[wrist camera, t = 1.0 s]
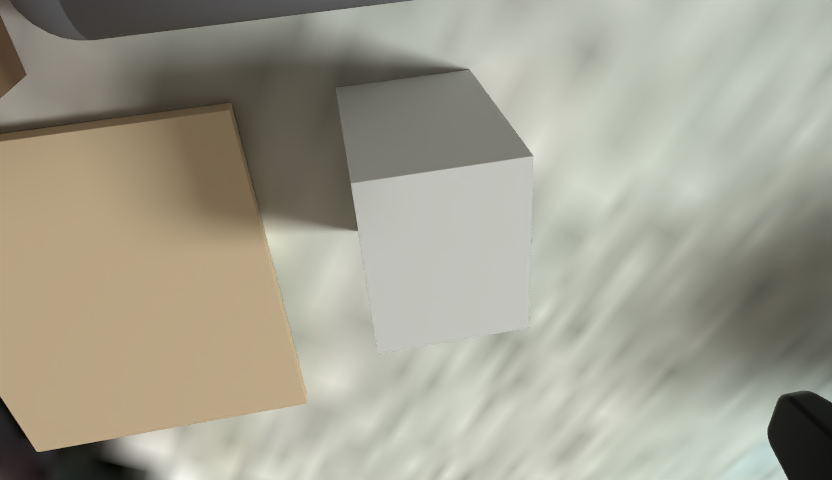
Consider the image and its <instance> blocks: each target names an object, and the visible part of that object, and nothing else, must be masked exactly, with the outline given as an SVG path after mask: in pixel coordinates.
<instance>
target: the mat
mask: <svg viewBox="0 0 832 480" xmlns="http://www.w3.org/2000/svg"><path fill="white" fill-rule="evenodd" d="M0 397H1V398H2V400H3V401H4V403H5V404H6V406H7V407H8V409H9V410H10V412H11V413H12V415H13V416H14V418H15V419H16V421H17V422H18V424H19V425H20V427H21V428H22V430H23V431H24V433H25V434H26V436H27V437H28V439H29V440H30V442H31V443H32V445H33V446H34V448H35V449H36V451H37V452H41V451H46V450H52V449H57V448H63V447H69V446H74V445H80V444H85V443H91V442H96V441H102V440H107V439H113V438H118V437H124V436H129V435H135V434H140V433H146V432H151V431H157V430H163V429H168V428H174V427H179V426H185V425H190V424H196V423H201V422H207V421H212V420H218V419H223V418H229V417H234V416H240V415H245V414H251V413H256V412H262V411H268V410H273V409H279V408H284V407H290V406H295V405H301V404H306V403H307V400H306V389H305V385H304V381H303V377H302V373H301V370H300V366H299V362H298V358H297V354H296V350H295V346H294V343H293V339H292V335H291V331H290V327H289V323H288V320H287V316H286V312H285V308H284V304H283V300H282V297H281V293H280V289H279V285H278V281H277V277H276V273H275V270H274V266H273V262H272V258H271V254H270V250H269V247H268V243H267V239H266V235H265V231H264V227H263V224H262V220H261V216H260V212H259V208H258V204H257V200H256V197H255V193H254V189H253V185H252V181H251V177H250V174H249V170H248V166H247V162H246V158H245V154H244V151H243V147H242V143H241V139H240V135H239V131H238V127H237V124H236V120H235V116H234V112H233V108H232V104H231V103H224V104H216V105H209V106H202V107H194V108H187V109H180V110H172V111H165V112H157V113H150V114H143V115H135V116H128V117H121V118H113V119H106V120H99V121H91V122H84V123H76V124H69V125H62V126H54V127H47V128H40V129H32V130H25V131H18V132H10V133H3V134H0Z"/></svg>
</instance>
